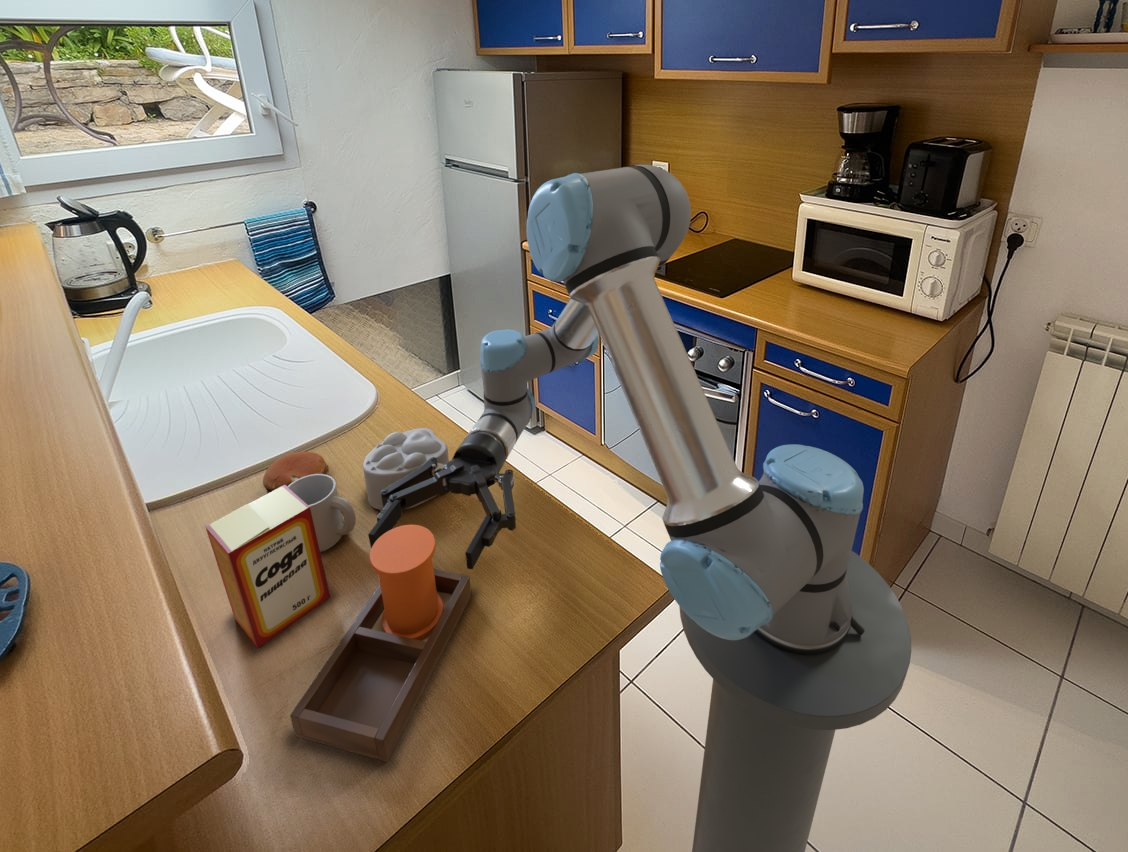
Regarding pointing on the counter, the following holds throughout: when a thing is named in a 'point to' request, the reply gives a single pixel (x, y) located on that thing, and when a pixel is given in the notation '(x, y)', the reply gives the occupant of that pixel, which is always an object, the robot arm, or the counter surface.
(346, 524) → the cup
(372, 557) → the spool
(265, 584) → the baking soda box
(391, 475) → the lumpy-topped squat cylinder
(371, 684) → the divided tray
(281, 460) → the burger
